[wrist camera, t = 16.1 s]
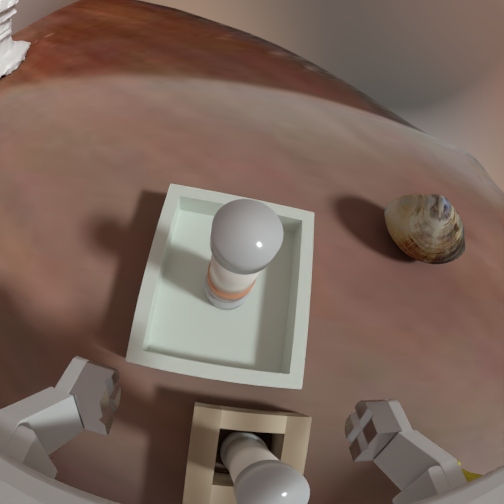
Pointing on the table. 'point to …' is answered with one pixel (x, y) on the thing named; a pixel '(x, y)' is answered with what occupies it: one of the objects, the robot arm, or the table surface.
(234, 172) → the table surface
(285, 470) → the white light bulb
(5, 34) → the bust
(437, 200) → the seashell
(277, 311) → the tray
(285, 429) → the fuse block
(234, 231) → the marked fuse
